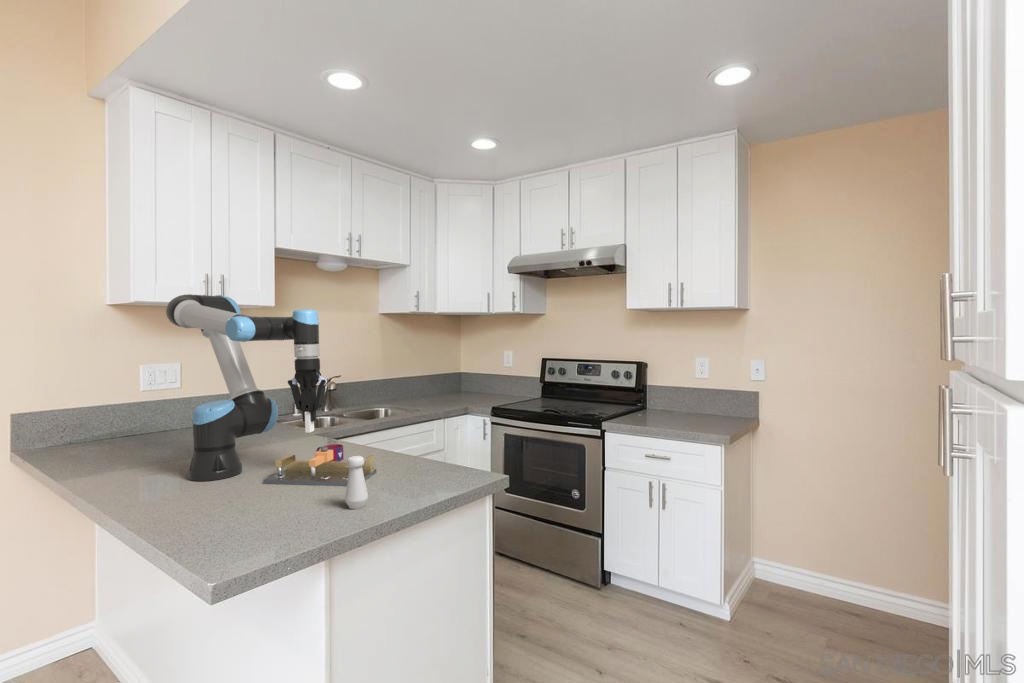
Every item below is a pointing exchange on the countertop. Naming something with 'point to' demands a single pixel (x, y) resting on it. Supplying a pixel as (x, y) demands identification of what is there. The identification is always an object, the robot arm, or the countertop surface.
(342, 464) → the brass l-shaped beam
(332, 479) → the plate
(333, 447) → the mug
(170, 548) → the countertop surface
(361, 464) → the salt shaker
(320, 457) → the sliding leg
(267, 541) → the countertop surface
